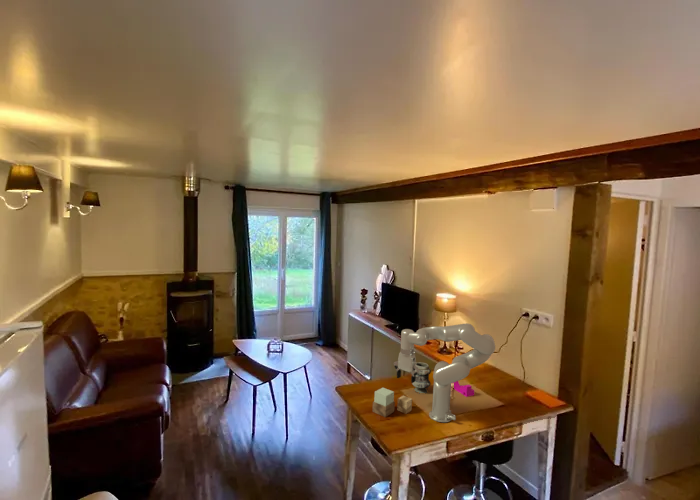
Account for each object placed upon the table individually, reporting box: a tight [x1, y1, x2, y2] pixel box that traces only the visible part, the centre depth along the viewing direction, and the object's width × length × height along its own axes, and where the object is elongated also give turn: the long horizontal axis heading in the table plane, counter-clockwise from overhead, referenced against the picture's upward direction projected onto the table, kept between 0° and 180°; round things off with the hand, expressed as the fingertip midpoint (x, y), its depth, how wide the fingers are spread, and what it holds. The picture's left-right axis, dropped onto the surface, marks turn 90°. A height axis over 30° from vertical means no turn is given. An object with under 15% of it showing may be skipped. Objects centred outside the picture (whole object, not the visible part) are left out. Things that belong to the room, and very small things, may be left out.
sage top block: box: [373, 387, 395, 406], centre depth 215 cm, size 8×8×6 cm
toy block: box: [453, 381, 475, 398], centre depth 245 cm, size 15×6×8 cm, turn 25°
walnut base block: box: [372, 401, 396, 418], centre depth 215 cm, size 9×9×6 cm
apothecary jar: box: [411, 362, 432, 394], centre depth 244 cm, size 12×12×18 cm
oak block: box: [396, 395, 413, 414], centre depth 218 cm, size 6×6×7 cm
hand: (405, 379), depth 217 cm, fingers open, 9 cm apart
